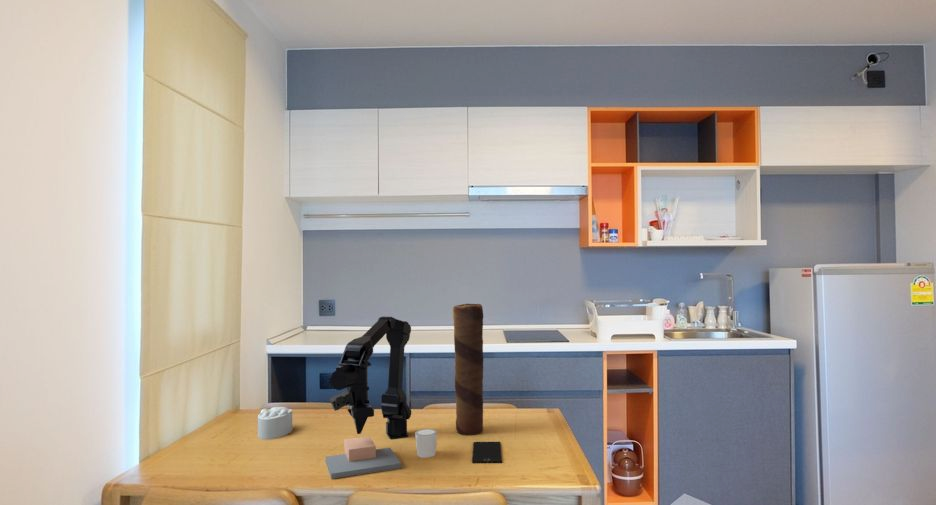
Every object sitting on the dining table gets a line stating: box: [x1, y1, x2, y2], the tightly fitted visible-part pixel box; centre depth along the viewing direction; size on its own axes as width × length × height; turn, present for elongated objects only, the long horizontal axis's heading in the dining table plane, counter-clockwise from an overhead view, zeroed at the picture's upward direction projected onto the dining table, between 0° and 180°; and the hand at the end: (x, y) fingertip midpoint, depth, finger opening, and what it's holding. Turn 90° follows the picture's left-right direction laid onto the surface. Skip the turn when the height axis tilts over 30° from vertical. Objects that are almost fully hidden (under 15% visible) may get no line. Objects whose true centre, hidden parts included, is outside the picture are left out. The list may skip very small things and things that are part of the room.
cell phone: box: [471, 441, 503, 464], centre depth 171 cm, size 9×18×1 cm, turn 178°
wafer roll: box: [452, 303, 484, 436], centre depth 193 cm, size 10×11×45 cm
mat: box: [325, 447, 402, 480], centre depth 162 cm, size 20×14×2 cm
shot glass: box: [414, 428, 438, 459], centre depth 170 cm, size 7×7×7 cm
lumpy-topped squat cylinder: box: [257, 406, 293, 441], centre depth 194 cm, size 10×13×9 cm
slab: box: [343, 435, 377, 461], centre depth 167 cm, size 8×4×10 cm
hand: (358, 433), depth 168 cm, fingers closed
